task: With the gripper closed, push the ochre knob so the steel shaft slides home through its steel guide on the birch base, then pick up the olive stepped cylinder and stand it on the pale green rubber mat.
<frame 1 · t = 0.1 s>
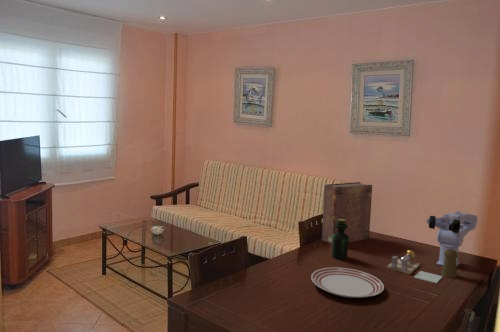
hand: (439, 226, 175), 22 cm above the table, tool horizontal, fingers open, 7 cm apart
dinner plate: (346, 288, 163), on the table
olive stepped cylinder: (449, 275, 180), on the table
book: (345, 240, 226), on the table
shaft bracket: (403, 267, 187), on the table
pale green mat: (428, 277, 176), on the table
shaft: (406, 257, 190), point 3 cm above the table, slide at 0.0 cm
potion bottle: (339, 257, 198), on the table
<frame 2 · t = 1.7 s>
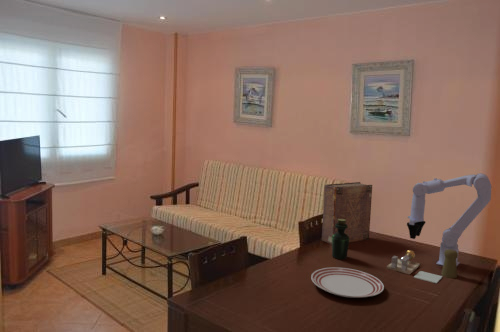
hand: (414, 237, 198), 10 cm above the table, tool pointing down, fingers open, 6 cm apart
nothing on the table moved.
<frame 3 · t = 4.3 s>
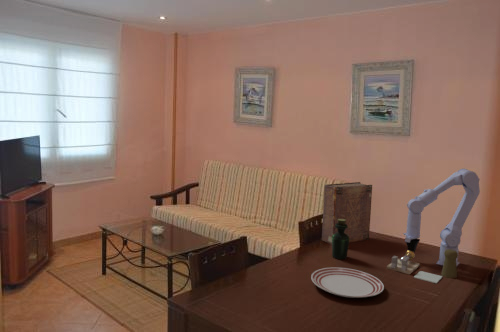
hand: (411, 254, 195), 3 cm above the table, tool pointing down, fingers closed
shaft: (406, 257, 190), point 3 cm above the table, slide at 0.2 cm, touching gripper
everything else where it was.
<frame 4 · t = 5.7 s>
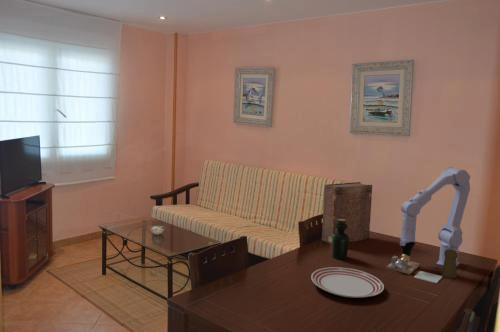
hand: (406, 257, 190), 3 cm above the table, tool pointing down, fingers closed
shaft: (401, 261, 184), point 4 cm above the table, slide at 7.0 cm, touching gripper
everything else where it was.
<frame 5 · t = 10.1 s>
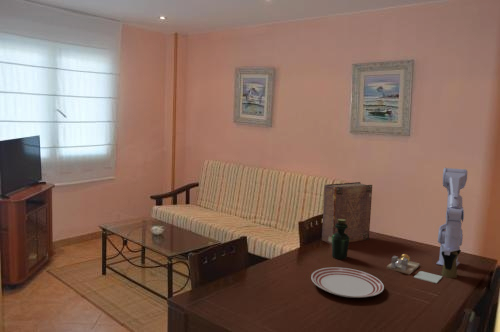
hand: (449, 267, 179), 3 cm above the table, tool pointing down, fingers closed on olive stepped cylinder, 5 cm apart
olive stepped cylinder: (449, 275, 180), on the table, touching gripper
shaft: (401, 261, 184), point 4 cm above the table, slide at 7.0 cm
everything else where it was.
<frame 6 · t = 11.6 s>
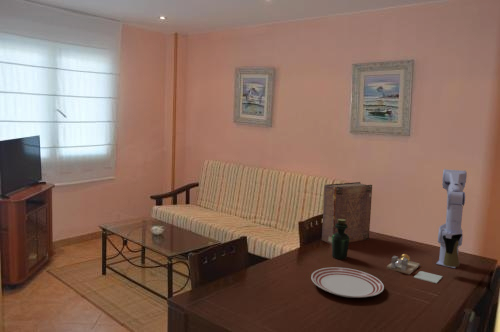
hand: (451, 251, 178), 10 cm above the table, tool pointing down, fingers closed on olive stepped cylinder, 5 cm apart
olive stepped cylinder: (451, 265, 178), point 5 cm above the table, touching gripper
everything else where it was.
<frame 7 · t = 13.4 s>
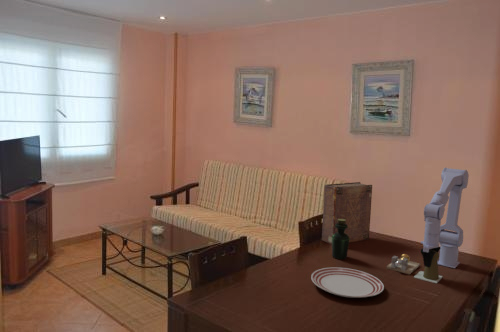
hand: (429, 264, 175), 5 cm above the table, tool pointing down, fingers closed on olive stepped cylinder, 5 cm apart
olive stepped cylinder: (430, 277, 175), resting on pale green mat, touching gripper
everything else where it was.
when the fingers open (5 cm above the table, at t = 13.9 s): olive stepped cylinder stays where it is, resting on pale green mat.
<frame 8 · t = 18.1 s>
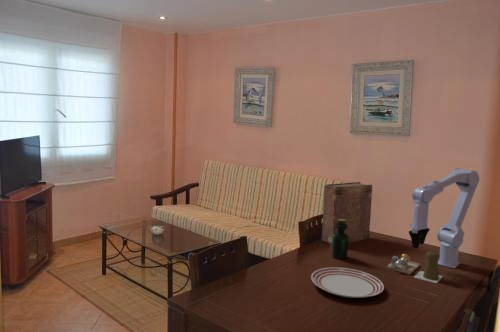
hand: (418, 245, 185), 10 cm above the table, tool pointing down, fingers open, 7 cm apart
olive stepped cylinder: (430, 277, 175), resting on pale green mat
everything else where it was.
at the end: shaft slide at 7.0 cm; olive stepped cylinder 1.2 cm off-centre on the pale green mat, point 0.2 cm above the pale green mat's base; olive stepped cylinder tilted 0° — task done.
